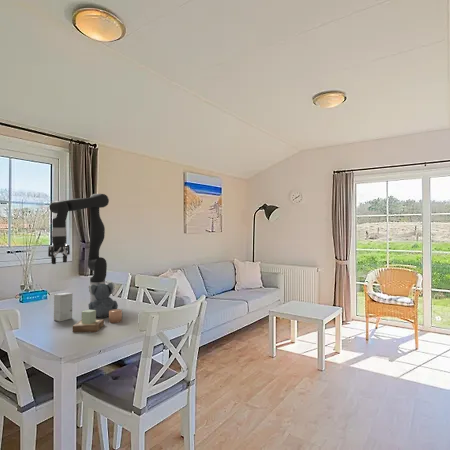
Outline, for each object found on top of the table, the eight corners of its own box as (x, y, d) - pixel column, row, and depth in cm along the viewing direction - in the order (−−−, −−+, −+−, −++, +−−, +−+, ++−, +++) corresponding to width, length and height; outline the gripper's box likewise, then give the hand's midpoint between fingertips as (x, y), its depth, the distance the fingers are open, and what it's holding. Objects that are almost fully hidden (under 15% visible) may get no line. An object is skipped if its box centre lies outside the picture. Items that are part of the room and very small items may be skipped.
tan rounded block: (113, 319, 197) (114, 308, 198) (124, 320, 195) (124, 309, 195) (106, 322, 191) (106, 311, 191) (116, 323, 189) (117, 312, 189)
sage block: (88, 320, 183) (88, 309, 183) (96, 321, 181) (96, 310, 181) (81, 323, 178) (81, 311, 178) (89, 324, 176) (89, 312, 176)
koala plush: (117, 310, 219) (117, 279, 219) (118, 317, 202) (118, 284, 202) (88, 312, 213) (88, 281, 213) (86, 319, 196) (86, 285, 196)
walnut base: (81, 325, 185) (81, 319, 185) (103, 324, 186) (103, 319, 186) (72, 332, 173) (72, 325, 173) (96, 331, 174) (96, 325, 174)
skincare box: (59, 321, 192) (59, 295, 192) (53, 320, 195) (53, 294, 195) (73, 318, 199) (73, 292, 199) (66, 317, 202) (66, 291, 202)
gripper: (62, 235, 207) (63, 261, 207) (44, 235, 193) (44, 264, 193) (73, 235, 205) (73, 262, 205) (55, 235, 191) (55, 264, 191)
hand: (59, 263), depth 199 cm, fingers open, 8 cm apart
